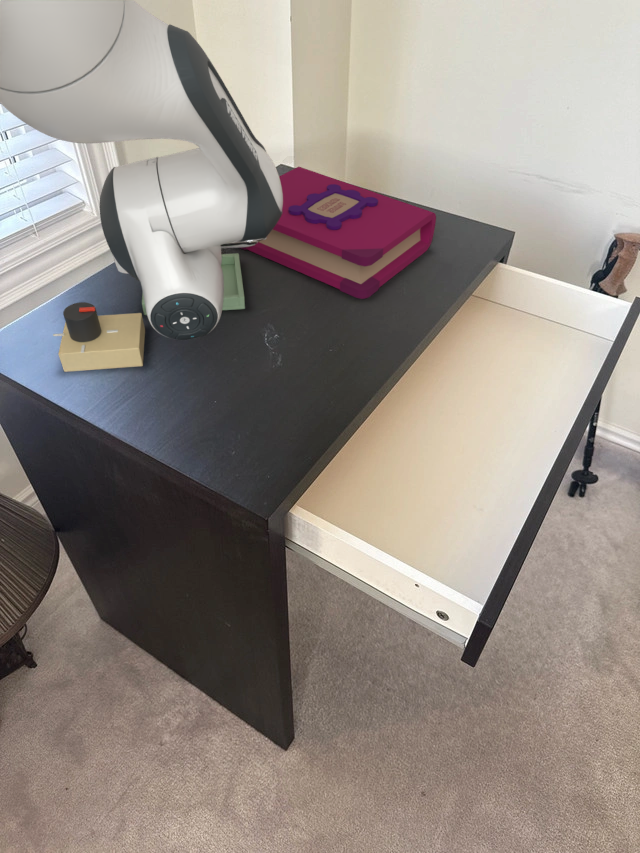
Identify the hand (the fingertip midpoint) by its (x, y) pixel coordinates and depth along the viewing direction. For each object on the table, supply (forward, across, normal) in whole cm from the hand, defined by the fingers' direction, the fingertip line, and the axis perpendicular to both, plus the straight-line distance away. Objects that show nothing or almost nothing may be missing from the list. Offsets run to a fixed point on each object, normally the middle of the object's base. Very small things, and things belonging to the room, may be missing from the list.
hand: (184, 196), depth 87 cm
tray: (0, 0, +14) cm, 15 cm away
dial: (-15, +14, +11) cm, 23 cm away
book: (+11, -23, +15) cm, 29 cm away
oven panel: (-14, +12, +14) cm, 24 cm away
